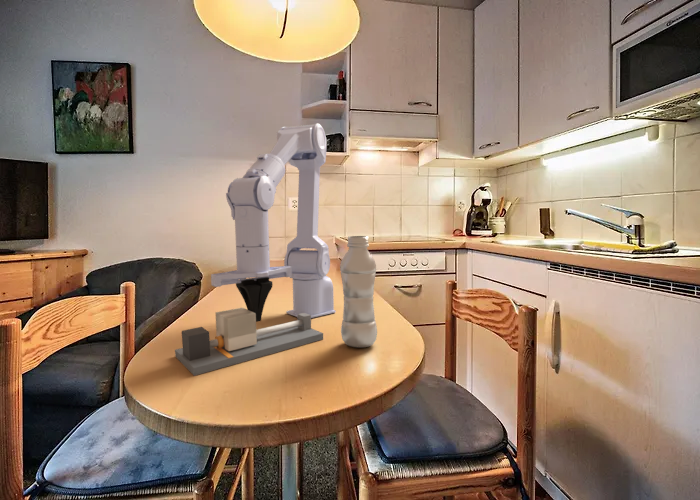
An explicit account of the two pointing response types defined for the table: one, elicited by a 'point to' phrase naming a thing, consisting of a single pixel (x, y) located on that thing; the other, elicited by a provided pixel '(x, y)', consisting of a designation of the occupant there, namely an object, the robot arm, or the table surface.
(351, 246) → the plastic bottle
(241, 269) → the robot arm
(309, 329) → the rail board
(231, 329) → the sleeve
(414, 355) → the table surface
